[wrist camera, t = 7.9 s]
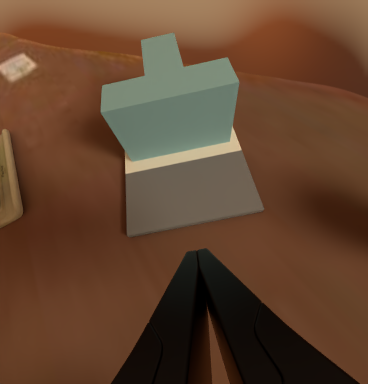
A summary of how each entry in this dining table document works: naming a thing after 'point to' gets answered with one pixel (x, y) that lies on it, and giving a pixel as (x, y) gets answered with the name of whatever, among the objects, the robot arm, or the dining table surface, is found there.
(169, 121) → the t block
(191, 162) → the mat
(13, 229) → the dining table surface
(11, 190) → the wooden puzzle
